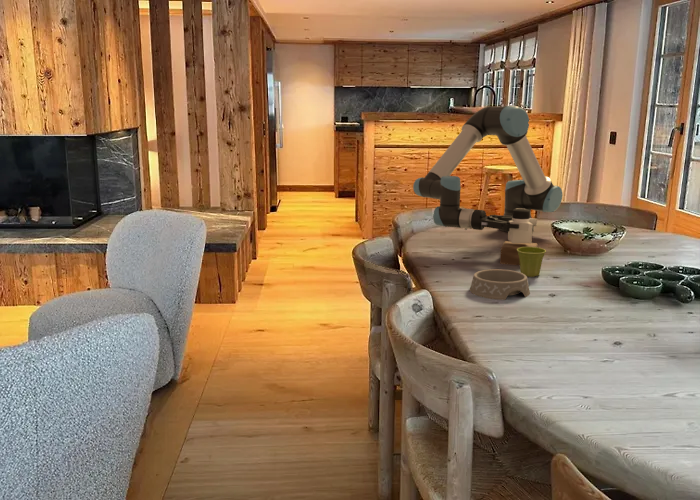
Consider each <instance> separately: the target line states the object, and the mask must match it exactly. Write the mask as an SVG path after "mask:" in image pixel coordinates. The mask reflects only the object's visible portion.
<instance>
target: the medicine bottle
mask: <svg viewBox="0 0 700 500" xmlns="http://www.w3.org/2000/svg"><path fill="white" fill-rule="evenodd" d="M529 219H530V211H529V210H528V209H523V208H518V209H514V210H513V215H512V220H513V221H509V222H510V223H511V222H522V223H529V231H523V230H512V229H510V231H508V232H507V241H510V242H512V243H533V240H532V239H533V232H532V230H533V224H532V223H530V222H529Z"/></svg>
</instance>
